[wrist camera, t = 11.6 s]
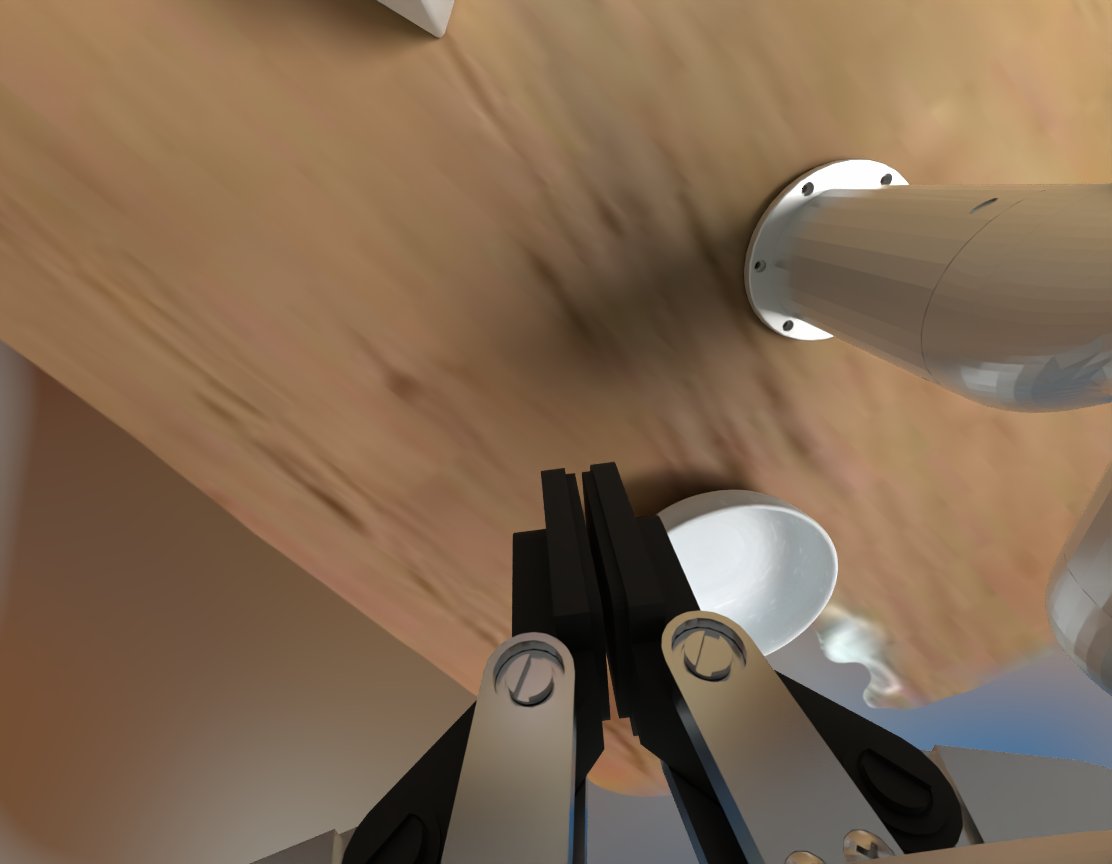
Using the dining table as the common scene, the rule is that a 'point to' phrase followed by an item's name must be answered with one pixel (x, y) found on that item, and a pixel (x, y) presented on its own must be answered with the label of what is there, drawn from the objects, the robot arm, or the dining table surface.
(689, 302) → the dining table surface
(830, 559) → the serving bowl
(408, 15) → the medicine bottle
